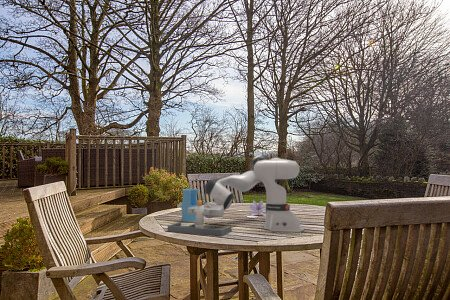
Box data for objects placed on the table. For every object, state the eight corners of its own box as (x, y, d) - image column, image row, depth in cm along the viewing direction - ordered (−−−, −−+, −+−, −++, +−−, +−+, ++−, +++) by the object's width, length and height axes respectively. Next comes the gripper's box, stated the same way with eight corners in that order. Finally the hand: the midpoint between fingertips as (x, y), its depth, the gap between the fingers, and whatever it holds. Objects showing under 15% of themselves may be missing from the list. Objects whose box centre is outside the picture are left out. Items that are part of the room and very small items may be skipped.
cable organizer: (232, 231, 194) (232, 225, 194) (221, 236, 181) (221, 230, 181) (180, 227, 206) (180, 221, 206) (167, 231, 193) (167, 225, 193)
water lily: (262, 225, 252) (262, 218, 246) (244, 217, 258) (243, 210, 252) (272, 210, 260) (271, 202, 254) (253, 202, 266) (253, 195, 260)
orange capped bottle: (206, 226, 195) (206, 200, 195) (201, 227, 190) (201, 201, 191) (197, 225, 197) (197, 199, 198) (193, 227, 192) (193, 200, 193)
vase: (189, 222, 223) (190, 190, 224) (180, 221, 228) (181, 189, 229) (198, 220, 229) (198, 189, 230) (189, 219, 234) (189, 188, 235)
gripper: (194, 203, 210) (182, 206, 197) (226, 205, 202) (216, 208, 189) (194, 214, 210) (182, 217, 197) (226, 216, 202) (216, 220, 189)
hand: (199, 213), depth 193 cm, fingers closed on orange capped bottle, 4 cm apart
